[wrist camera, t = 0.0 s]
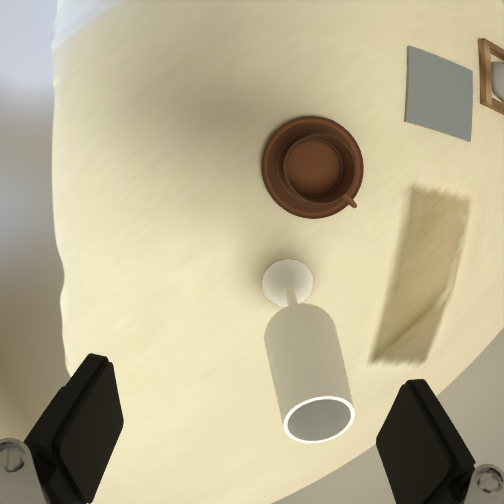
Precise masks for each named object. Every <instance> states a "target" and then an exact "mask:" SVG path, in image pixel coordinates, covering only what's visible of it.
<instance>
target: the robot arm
mask: <svg viewBox="0 0 504 504" xmlns="http://www.w3.org/2000/svg"><path fill="white" fill-rule="evenodd" d="M123 423H124V420H123V414H122V410H121V405H120V400H119V395H118V390H117V384H116V379H115V373H114V367H113V364H112V362H109V361H108V358H107V357H105V356H101V355H96V354H92V353H90V354H89V355H88V356H87V357H86V358H85V360H84V361H83V362H82V364H81V365H80V366H79V368H78V369H77V370H76V372H75V373H74V375H73V376H72V377H71V379H70V380H69V382H68V383H67V384H66V386H64V387H62V388H61V389H60V390H59V391H58V392H57V394H56V395H55V397H54V398H53V400H52V401H51V402H50V404H49V405H48V407H47V408H46V410H45V411H44V412H43V414H42V415H41V417H40V418H39V420H38V421H37V423H36V424H35V426H34V427H33V429H32V430H31V431H30V433H29V435H28V436H27V438H26V439H25V441H24V442H22V441H20V440H18V439H14V438H4V439H1V440H0V504H87V503H88V504H90V503H92V501H93V499H94V497H95V494H96V491H97V489H98V486H99V484H100V481H101V479H102V476H103V474H104V471H105V469H106V466H107V464H108V462H109V459H110V457H111V454H112V452H113V450H114V447H115V445H116V442H117V440H118V438H119V435H120V433H121V431H122V428H123ZM376 446H377V449H378V451H379V454H380V457H381V460H382V463H383V466H384V469H385V471H386V474H387V477H388V480H389V483H390V486H391V489H392V492H393V495H394V497H395V501H396V504H504V472H503V471H502V470H501V469H500V468H499V467H497V466H495V465H492V464H483V465H480V466H478V467H477V468H476V469H475V467H474V464H475V463H476V462H475V460H474V458H473V457H472V455H471V453H470V451H469V450H468V448H467V446H466V445H465V443H464V442H463V440H462V438H461V436H460V435H459V433H458V431H457V430H456V428H455V426H454V425H453V423H452V422H451V420H450V418H449V417H448V415H447V413H446V412H445V410H444V409H443V407H442V406H441V404H440V402H439V401H438V399H437V398H436V396H435V394H434V393H433V391H432V390H431V388H430V387H429V385H428V384H427V382H426V381H425V380H424V379H415V380H408V381H407V382H406V383H405V384H404V385H402V386H401V388H400V390H399V392H398V395H397V397H396V399H395V401H394V403H393V405H392V407H391V410H390V412H389V414H388V416H387V418H386V420H385V422H384V424H383V426H382V428H381V430H380V432H379V434H378V435H377V438H376Z"/></svg>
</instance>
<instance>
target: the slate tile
mask: <svg viewBox="0 0 504 504" xmlns="http://www.w3.org/2000/svg"><path fill="white" fill-rule="evenodd" d="M472 106H473V72H472V71H471V70H469V69H467V68H465V67H463V66H460V65H458V64H456V63H453V62H451V61H449V60H446V59H444V58H441V57H439V56H436V55H434V54H431V53H429V52H426V51H423V50H421V49H418V48H415V47H412V46H408V47H407V88H406V106H405V120H404V122H408V123H412V124H415V125H419V126H422V127H425V128H429V129H432V130H435V131H439V132H442V133H445V134H448V135H451V136H454V137H457V138H460V139H462V140H465V141H468V142H471V128H472Z"/></svg>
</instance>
